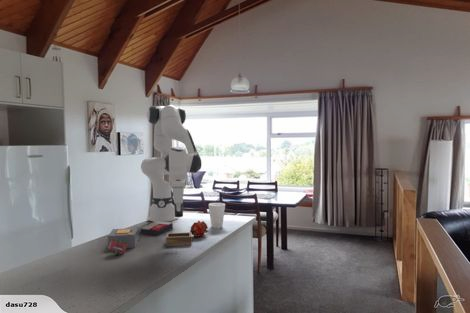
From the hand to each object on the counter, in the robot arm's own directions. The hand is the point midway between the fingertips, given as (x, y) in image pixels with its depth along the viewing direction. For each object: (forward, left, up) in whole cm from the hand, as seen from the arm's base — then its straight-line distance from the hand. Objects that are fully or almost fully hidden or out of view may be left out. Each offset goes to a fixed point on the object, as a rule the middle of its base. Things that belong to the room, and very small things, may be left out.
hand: (178, 209), depth 165 cm
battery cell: (0, 0, -3) cm, 3 cm away
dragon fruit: (-10, +10, -17) cm, 22 cm away
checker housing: (-2, -26, -16) cm, 31 cm away
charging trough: (0, 0, -16) cm, 16 cm away
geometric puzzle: (+12, -26, -17) cm, 33 cm away
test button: (-2, -26, -13) cm, 29 cm away
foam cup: (-28, +21, -16) cm, 39 cm away
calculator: (-23, -12, -17) cm, 31 cm away
